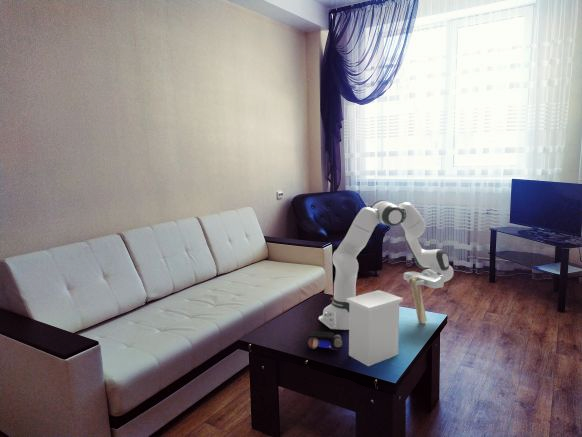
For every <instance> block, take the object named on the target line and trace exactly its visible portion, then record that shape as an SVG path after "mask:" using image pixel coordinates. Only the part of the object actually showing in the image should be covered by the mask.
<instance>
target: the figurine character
mask: <svg viewBox="0 0 582 437" xmlns="http://www.w3.org/2000/svg"><path fill="white" fill-rule="evenodd" d="M308 337H309V339H308V340H307V344H308V347H309V348H310V349H317V348H318V347H319V348H323V349H330V350H334V351H336V350H338V349H337V348H340V347H342V345H343V340H342V336H341V335H340V334H335V332H334V331H323V330H322V331H321V330H309V333H308ZM318 338H320V339H318ZM324 339H332V341H331V340H324Z"/></svg>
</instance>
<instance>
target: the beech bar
mask: <svg viewBox="0 0 582 437" xmlns="http://www.w3.org/2000/svg"><path fill="white" fill-rule="evenodd" d="M414 281H419V278H418V277H415V276H413V277H411V278H410V282H411V283H410V288H411V290H412V291H411V293H412V297H413V300H414V306H415V310H416V316H417V322H418V323H420V324H423V325H424V324H425V323H426V322H427V321H428V320H427V314H426V309H425V305H424V300H423V294H422V290H421V285H415V284H414Z"/></svg>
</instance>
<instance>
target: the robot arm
mask: <svg viewBox="0 0 582 437" xmlns="http://www.w3.org/2000/svg"><path fill="white" fill-rule="evenodd" d="M380 223H382V224H384V225H386V226H389V227H396V226H398V225H400V226H401V228H402V229H403V230H404V233H403V238H404V241H405V242H406V244H407V246H408V248H409V250H410V252H411V255H412V256H413V260H414V263H415V264H416V266H417V267H418V268H419V269H423V270H422V271H421V272H417V271H406V272H404V273H403V280H405V281H407V283H408V284H411V282H410V278H411V277H413V276H415V277H418V278H419V281H414V284H415V285H420V286H425V287H428V288H430V289H431V288H432V289H439V288H444V285H445V284H444V283H445V282H448V281H450V280H451V279H452V278H453V277H454V274H455V273H454V268H453V267H452V266H451V265H450V257H449V254H448V253H447V252H446V251H445V250H444V249H443V248H438V249H437V248H435V249H424V248H422V246H421V244H420V243H419V240H418V238H420V237H421V236H422V235H423V234H424V233H425V231H426V229H427V223H426V221H425V219H424V218H423V216H422V215H421V213H420V212H419V210H418V209H417V208H416V207H415V206H414V205H413V204H412V203H411V202H408V201H404V202H401V203H400V204H399V205H396V204H394V203H393V202H390V201H388V200H383V199H382V200H381V199H380V200H377V201H375V202H374V203H373V204H372V205H370V206H369V207H368V206H365V207H362V208H361V209H360V210H359V212H358V213H357V215H356V216H355V218H354V219H353V221H352V223H351V225H350V227H349V229H348V231H347V233H346V234H345V236H344V238H343V239H342V241H341V242H340V244H339V246H338V247H337V249H335V250H334V252H333V254H332V257H331V258H332V260H331V261H332V263H333V265H334V267H335V277H334V281H333V296H332V297H331V298H330V301H331V303H330V304H329V305H327V306H326V307H324V309H323V311H322V315H319V317H318V320H319V321H320V322H321V323H322V324H323V325H325V326H326V327H328V328H329V329H330V330H341V331H342V330H344V331H346V330H348V331H349V303H348V302H346V298H350V297H354V296H357V295H356V294H357V293H356V285H357V284H356V283H357V280H358V279H357V278H358V272H359V269H360V268H359V262H358V259H357V256H358V255H359V254H360V252H362V250H363V249H364V248H365V247H366V246H367V243H368V241H369V239H370V238H371V236H372V234H373V232H374V230H375V228H376V227H377V225H378V224H380Z"/></svg>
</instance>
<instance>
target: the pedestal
mask: <svg viewBox="0 0 582 437" xmlns="http://www.w3.org/2000/svg"><path fill="white" fill-rule="evenodd" d="M346 302H348V303H349V330H348V334H349V335H348V356H349V357H351V358H352V359H354V360H356V361H358V362H360V363H362V364H363V365H365V366H367V367H370V366H374V365H375V364H379V363H381V362H383V361H386V360H388V359H390V358H393V357H396V356H398V355H399V334H400V333H399V329H400V328H399V327H400V303H403V302H404V298H403V297H400V296H398V295H394V294H392V293H390V292H386V291H382V290H380V289H377V290H373V291H370V292H365V293H363V294H358V295H355V296H354V297H350V298H346Z"/></svg>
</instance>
